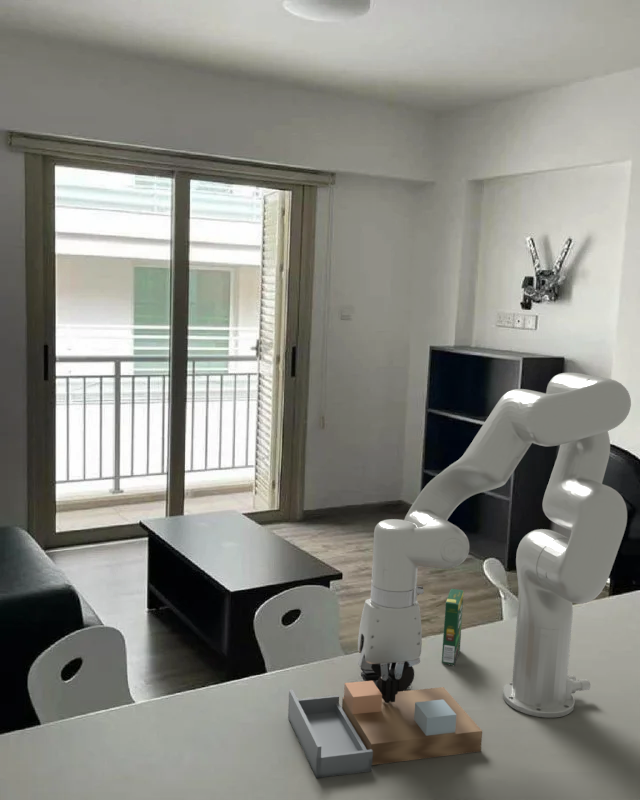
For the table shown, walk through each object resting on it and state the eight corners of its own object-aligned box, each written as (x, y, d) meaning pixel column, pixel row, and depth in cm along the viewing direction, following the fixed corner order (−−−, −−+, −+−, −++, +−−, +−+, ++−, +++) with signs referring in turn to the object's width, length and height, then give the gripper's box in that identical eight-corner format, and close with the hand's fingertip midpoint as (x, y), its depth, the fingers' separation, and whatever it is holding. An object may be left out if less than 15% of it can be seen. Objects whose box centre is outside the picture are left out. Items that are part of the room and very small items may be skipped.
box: (337, 712, 142) (338, 685, 142) (371, 771, 125) (373, 740, 124) (288, 717, 140) (289, 689, 139) (316, 778, 123) (317, 746, 122)
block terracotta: (371, 697, 141) (372, 680, 140) (381, 711, 136) (382, 694, 136) (343, 699, 140) (344, 683, 139) (352, 714, 135) (353, 697, 134)
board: (442, 705, 146) (443, 687, 146) (480, 751, 132) (482, 730, 131) (341, 716, 141) (342, 697, 140) (370, 765, 127) (371, 744, 126)
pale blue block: (442, 716, 135) (443, 699, 135) (455, 732, 130) (456, 714, 130) (414, 719, 134) (415, 702, 134) (426, 735, 129) (427, 717, 129)
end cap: (413, 694, 150) (415, 659, 149) (377, 698, 148) (379, 663, 147) (393, 670, 159) (395, 637, 159) (359, 673, 157) (360, 640, 156)
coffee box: (455, 667, 162) (459, 603, 160) (440, 664, 162) (444, 601, 161) (460, 650, 169) (464, 589, 168) (446, 648, 170) (450, 587, 168)
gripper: (425, 584, 142) (419, 684, 144) (343, 589, 138) (338, 692, 140) (443, 600, 135) (436, 705, 137) (357, 605, 131) (352, 714, 133)
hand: (387, 698), depth 139 cm, fingers closed
